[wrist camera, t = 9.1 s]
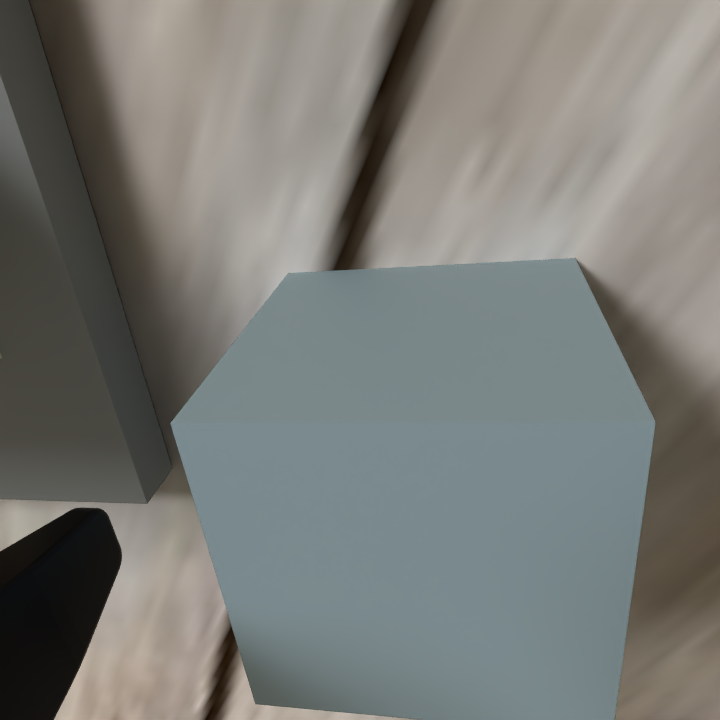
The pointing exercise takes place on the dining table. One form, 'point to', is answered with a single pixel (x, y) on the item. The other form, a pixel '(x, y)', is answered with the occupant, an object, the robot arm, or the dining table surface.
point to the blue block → (425, 492)
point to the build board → (61, 309)
